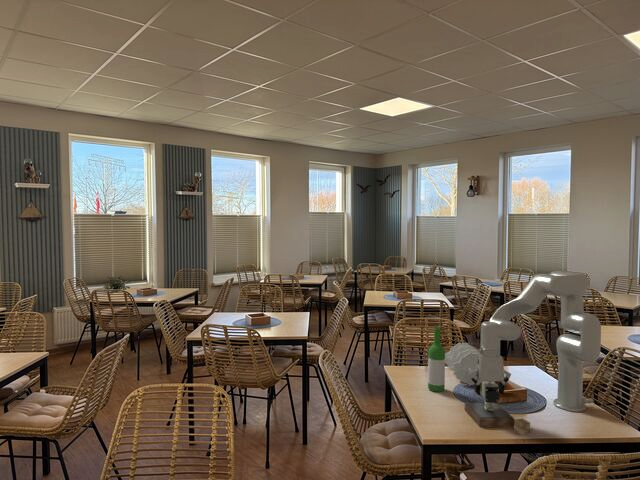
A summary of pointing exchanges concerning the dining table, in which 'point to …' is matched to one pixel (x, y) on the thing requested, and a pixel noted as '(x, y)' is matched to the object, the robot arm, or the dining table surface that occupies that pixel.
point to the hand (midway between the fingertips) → (489, 393)
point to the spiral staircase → (462, 361)
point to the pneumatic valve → (490, 395)
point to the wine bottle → (436, 364)
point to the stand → (489, 415)
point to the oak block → (522, 426)
